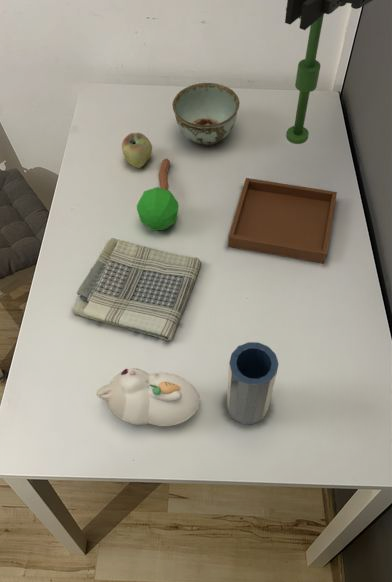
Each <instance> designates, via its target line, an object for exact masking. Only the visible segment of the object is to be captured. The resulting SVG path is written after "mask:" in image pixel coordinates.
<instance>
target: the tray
mask: <svg viewBox="0 0 392 582" xmlns="http://www.w3.org/2000/svg"><path fill="white" fill-rule="evenodd" d="M337 195H338V192H337V191H334V190H328V189H321V188H316V187H315V188H314V187H308V186H302V185H295V184H289V183H284V182H283V183H282V182H276V181H270V180H262V179H257V178H250V177H245V179H244V183H243V186H242V189H241V193H240V196H239V200H238V203H237V207H236V210H235V213H234V217H233V220H232V223H231V227H230V231H229V234H228V238H227V239H228V240H227V247H228V248H234V249H239V250H246V251H251V252H255V253H261V254H267V255H274V256H278V257H279V256H280V257H285V258H290V259H297V260H302V261H307V262H314V263H320V264H325V261H326V258H327V255H328V248H329V243H330V237H331V236H330V235H331V231H332V225H333V220H334V213H335V207H336V201H337Z"/></svg>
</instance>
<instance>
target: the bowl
mask: <svg viewBox="0 0 392 582" xmlns="http://www.w3.org/2000/svg"><path fill="white" fill-rule="evenodd" d="M171 104H172V110H173V113H174V117H175V121H176V123H177V126H178V127H179V129H180V131H181V132H182V134H183V135H184V136H185V137H186V138H187V139H189V140H190V141H192V142H194V143H195V144H197V145H199V146H201V147H210V146H213V145H216V144H218V143H219V142H220V141H221V140H224V139H225V138H226V137H227V136H228V135H229V134H230V132H231V131H232V130H233V127H234V126H235V124H236V120H237V117H238V111H239V109H240V98H239V97H238V94H237V93H236V92H235V91H234V90H233V89H231V88H229V87H228V86H225V85H223V84H220V83H214V82H201V83H195V84H191V85H189V86H187V87H185V88H183V89H182V90H180V91H179V92H178V93H177V94H176V95H175V96H174V98H173V101H172V103H171Z"/></svg>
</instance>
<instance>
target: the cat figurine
mask: <svg viewBox="0 0 392 582" xmlns="http://www.w3.org/2000/svg"><path fill="white" fill-rule="evenodd" d="M96 396H97V397H98V399H101V400H103V401H105V402H106V403H107V405H108V407H109V409H110V411H111V412H112V413H113V414H114V415H115V416H116V417H118V418H119V419H120V420H123V422H126V423H128V424H131V425H146V424H147V425H148V424H150V425H153V426H159V427H171V426H176V425H179V424H182V423H185V422H186V421H188V420H189V419H190V418H192V417H193V416H195V414H196V413H197V411H198V410H199V408H200V404H201V397H200V393H199V392H198V390H197V389H196V387H195V386H194V385H193V384H192V383H191V382H189V380H187V379H185V378H183V377H182V376H179V375H177V374H175V373H170V372H153V373H148V372H147V371H146V370H143V369H141V368H124V369H123V370H122V371H121V372H119V373H118V374H116V375H115V376H114V377H113V378H112V379H111V380H110V381H109V383H108V384H105V385H103V386H102V387H100V388H99V389H98V390H97V391H96Z"/></svg>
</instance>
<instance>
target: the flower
mask: <svg viewBox="0 0 392 582" xmlns="http://www.w3.org/2000/svg"><path fill="white" fill-rule="evenodd" d="M286 9H287V6H285V10H286ZM324 17H325V14H323V15H322V16H321V17H320V18H319V19H318V20H316V21H315V22H314V23H313V24H312V25H310V26H309V34H308V38H307V39H308V40H307V45H306V51H305V58H304V59H301V60H299V62H298V63H297V71H296V77H295V83H294V86H295V88H296V90H298V91H299V94H298V99H297V100H298V101H297V105H296V106H297V107H296V113H295V118H294V119H295V120H294V125H293V126H290V127H288V128H287V130H286V133H285V138H286V140H287V141H288V142H289V143H290V144H294V145H302V144H304V143H306V142H307V141H308V140H309V135H310V133H309V130H308V128H306V127H305V121H306V116H307V115H306V114H307V109H308V104H309V98H310V93H312V92H314V91H315V90H316V89H317V87H318V82H319V77H320V71H321V62H320V61H318V60H317V55H318V48H319V43H320V37H321V33H322V26H323V21H324ZM298 19H299V20H301V16H300V17H299V18H298Z"/></svg>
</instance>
